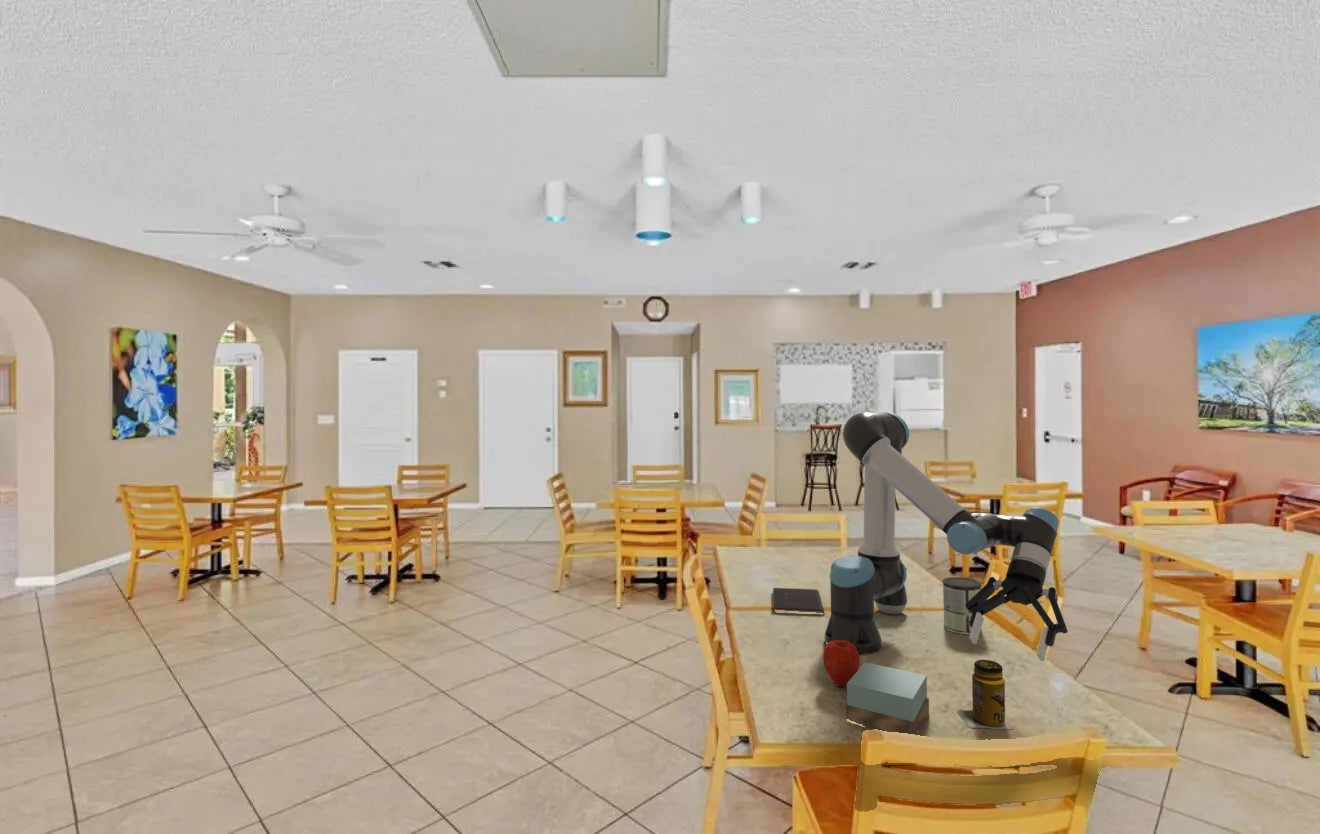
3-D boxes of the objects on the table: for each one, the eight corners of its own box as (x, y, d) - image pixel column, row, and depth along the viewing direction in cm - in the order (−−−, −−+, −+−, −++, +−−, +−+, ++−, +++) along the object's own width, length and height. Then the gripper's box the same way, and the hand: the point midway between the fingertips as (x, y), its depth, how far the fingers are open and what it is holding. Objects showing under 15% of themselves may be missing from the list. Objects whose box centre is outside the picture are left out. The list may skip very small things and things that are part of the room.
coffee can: (949, 620, 190) (948, 575, 190) (985, 628, 183) (985, 580, 183) (938, 629, 182) (937, 582, 182) (976, 637, 175) (975, 588, 175)
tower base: (846, 724, 129) (845, 703, 129) (868, 701, 139) (868, 681, 139) (910, 744, 121) (909, 721, 121) (929, 718, 131) (928, 697, 131)
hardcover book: (773, 615, 199) (773, 608, 199) (773, 594, 221) (773, 587, 221) (824, 617, 196) (824, 610, 196) (818, 595, 219) (818, 589, 219)
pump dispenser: (913, 617, 193) (912, 568, 193) (879, 617, 194) (879, 569, 194) (901, 606, 204) (900, 561, 204) (869, 606, 204) (869, 561, 204)
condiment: (1013, 729, 125) (1012, 671, 125) (970, 728, 126) (969, 670, 126) (997, 712, 132) (996, 656, 132) (956, 711, 133) (955, 655, 133)
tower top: (847, 705, 128) (846, 683, 128) (865, 682, 139) (865, 662, 139) (913, 722, 121) (912, 699, 121) (926, 696, 132) (926, 675, 131)
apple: (844, 697, 140) (844, 650, 140) (815, 684, 147) (814, 639, 147) (867, 687, 145) (867, 641, 145) (838, 675, 152) (837, 631, 152)
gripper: (1095, 586, 136) (1076, 674, 126) (977, 567, 155) (952, 642, 145) (1087, 567, 132) (1067, 656, 122) (967, 549, 151) (941, 625, 141)
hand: (1005, 649), depth 134 cm, fingers open, 13 cm apart
